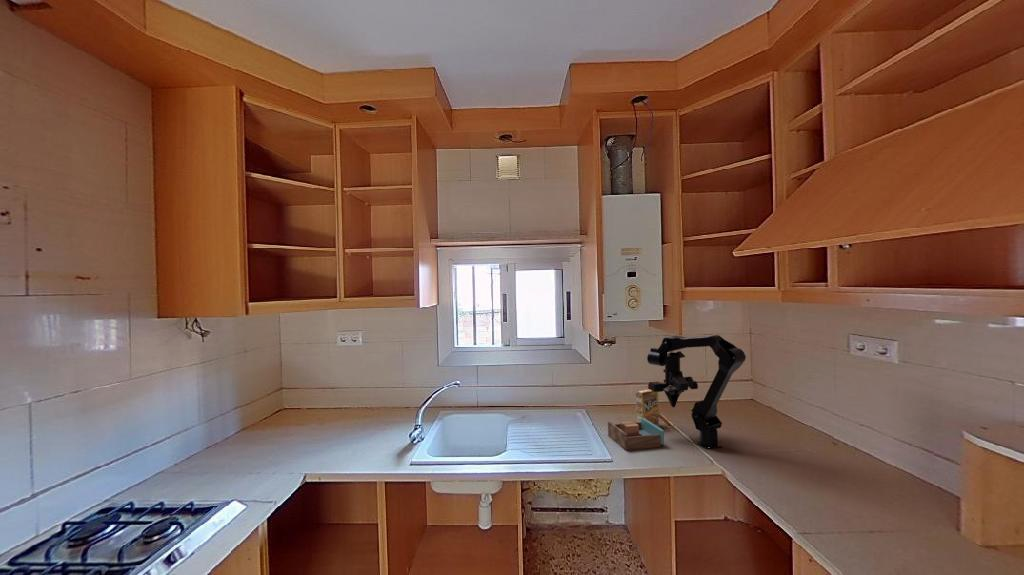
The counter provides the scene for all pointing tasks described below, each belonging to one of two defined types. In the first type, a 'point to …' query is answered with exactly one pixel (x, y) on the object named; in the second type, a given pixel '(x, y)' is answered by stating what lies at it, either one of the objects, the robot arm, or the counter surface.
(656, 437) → the caddy frame
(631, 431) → the terracotta block
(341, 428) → the counter surface
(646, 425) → the sliding tray
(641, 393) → the candy box
